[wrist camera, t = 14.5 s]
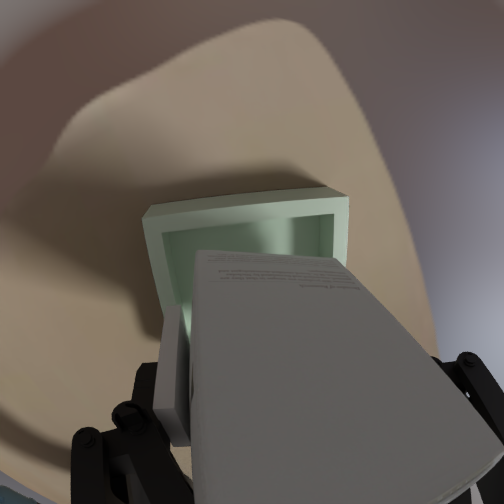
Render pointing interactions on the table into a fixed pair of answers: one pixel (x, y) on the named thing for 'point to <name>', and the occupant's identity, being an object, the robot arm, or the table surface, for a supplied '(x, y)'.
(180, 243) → the trough tray
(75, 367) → the table surface
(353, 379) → the supplement box
